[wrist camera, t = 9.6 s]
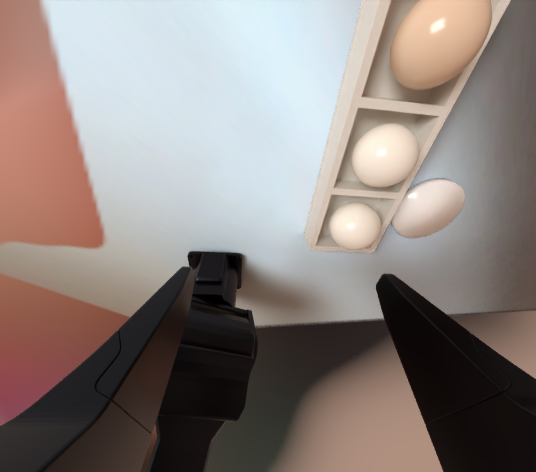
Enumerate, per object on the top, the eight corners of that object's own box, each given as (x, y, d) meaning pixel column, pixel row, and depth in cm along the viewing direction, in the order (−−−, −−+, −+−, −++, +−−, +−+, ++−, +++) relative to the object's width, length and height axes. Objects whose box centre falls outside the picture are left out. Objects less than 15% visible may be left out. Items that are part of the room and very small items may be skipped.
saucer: (434, 234, 26) (438, 239, 25) (380, 231, 25) (383, 236, 25) (474, 180, 22) (480, 184, 21) (409, 175, 21) (414, 179, 20)
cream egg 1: (359, 231, 24) (377, 261, 20) (319, 229, 24) (330, 259, 20) (375, 194, 21) (400, 221, 18) (330, 191, 21) (346, 218, 17)
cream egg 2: (384, 175, 20) (412, 199, 16) (336, 171, 20) (354, 195, 16) (409, 120, 17) (450, 135, 13) (354, 114, 17) (380, 128, 13)
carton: (362, 235, 26) (373, 252, 23) (303, 232, 25) (308, 250, 23) (485, -25, 13) (534, -45, 11) (373, -45, 12) (399, -70, 10)
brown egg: (420, 89, 16) (475, 97, 12) (364, 83, 15) (406, 89, 12) (460, -1, 13) (545, -24, 10) (394, -14, 12) (461, -45, 9)
